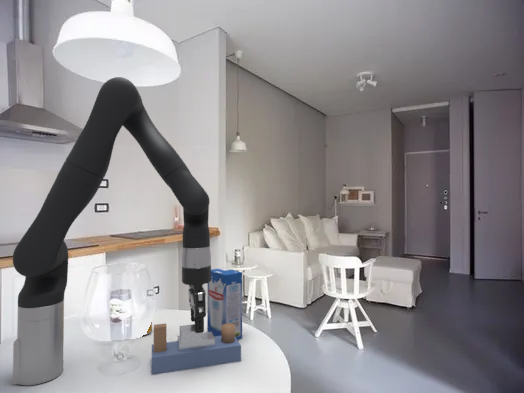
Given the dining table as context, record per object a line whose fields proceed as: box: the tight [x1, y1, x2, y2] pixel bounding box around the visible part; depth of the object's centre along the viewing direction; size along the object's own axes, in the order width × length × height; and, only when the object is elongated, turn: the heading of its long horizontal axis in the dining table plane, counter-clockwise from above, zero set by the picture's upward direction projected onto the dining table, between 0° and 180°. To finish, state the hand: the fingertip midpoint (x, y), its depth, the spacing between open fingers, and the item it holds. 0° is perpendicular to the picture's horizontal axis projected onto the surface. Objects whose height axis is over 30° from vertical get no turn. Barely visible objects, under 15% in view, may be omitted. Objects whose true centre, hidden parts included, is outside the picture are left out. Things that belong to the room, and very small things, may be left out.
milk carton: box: [206, 267, 243, 341], centre depth 102 cm, size 10×6×20 cm, turn 41°
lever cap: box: [177, 323, 215, 351], centre depth 86 cm, size 9×5×4 cm, turn 108°
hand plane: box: [150, 322, 242, 376], centre depth 86 cm, size 22×8×10 cm, turn 108°
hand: (197, 326), depth 86 cm, fingers open, 8 cm apart
